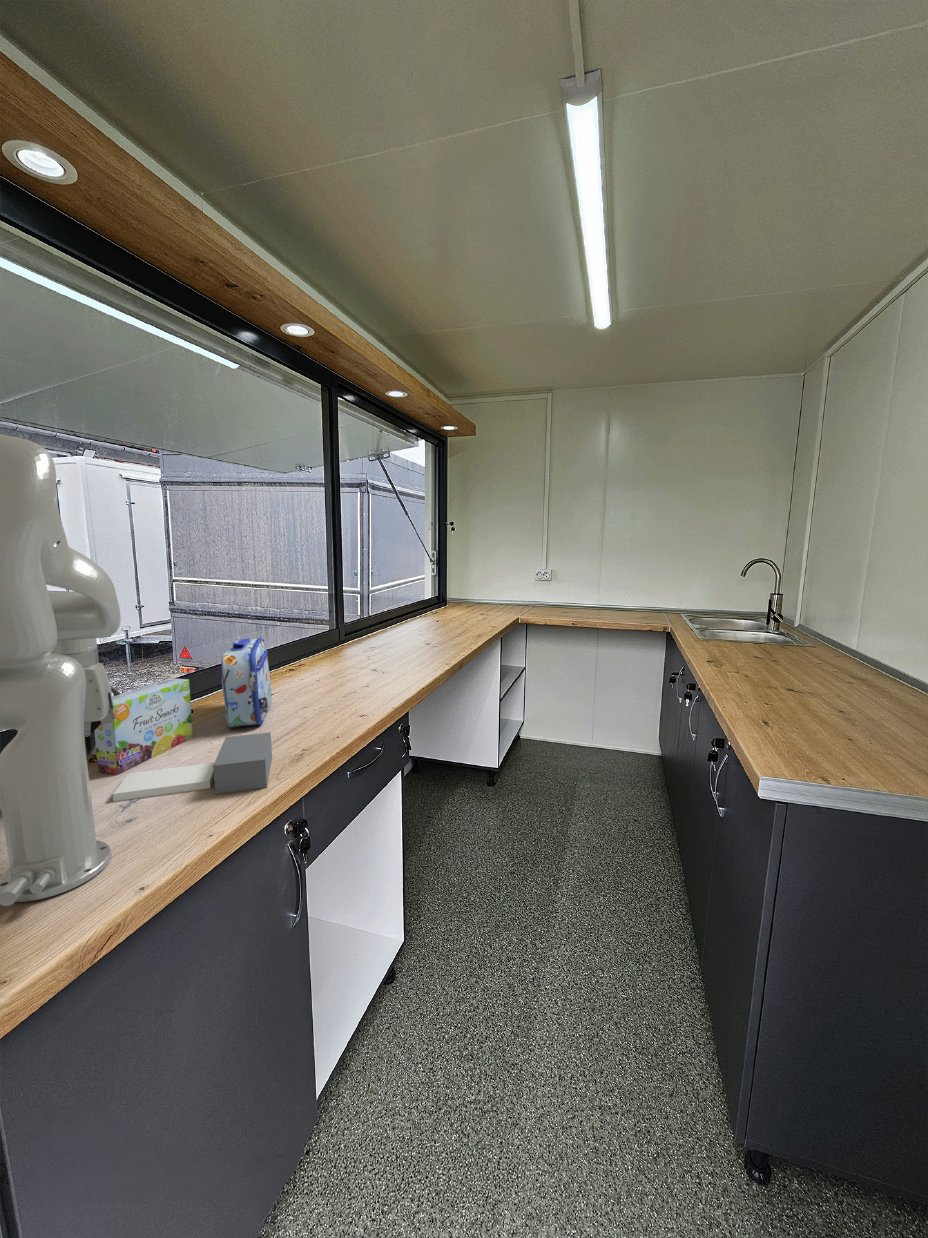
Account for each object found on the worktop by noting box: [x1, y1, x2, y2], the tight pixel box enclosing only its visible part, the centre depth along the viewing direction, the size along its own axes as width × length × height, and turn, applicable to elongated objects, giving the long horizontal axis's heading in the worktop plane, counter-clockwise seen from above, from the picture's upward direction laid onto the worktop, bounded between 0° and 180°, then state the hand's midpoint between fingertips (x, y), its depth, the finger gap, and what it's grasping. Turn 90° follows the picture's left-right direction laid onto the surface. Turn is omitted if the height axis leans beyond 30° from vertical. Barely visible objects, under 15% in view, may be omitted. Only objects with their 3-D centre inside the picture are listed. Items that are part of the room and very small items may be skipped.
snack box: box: [94, 677, 194, 775], centre depth 112 cm, size 21×6×15 cm, turn 168°
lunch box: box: [220, 637, 273, 728], centre depth 136 cm, size 28×10×22 cm, turn 17°
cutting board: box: [112, 762, 215, 802], centre depth 98 cm, size 9×16×2 cm, turn 108°
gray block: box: [213, 732, 273, 795], centre depth 102 cm, size 15×9×6 cm, turn 17°
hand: (84, 754), depth 94 cm, fingers closed
